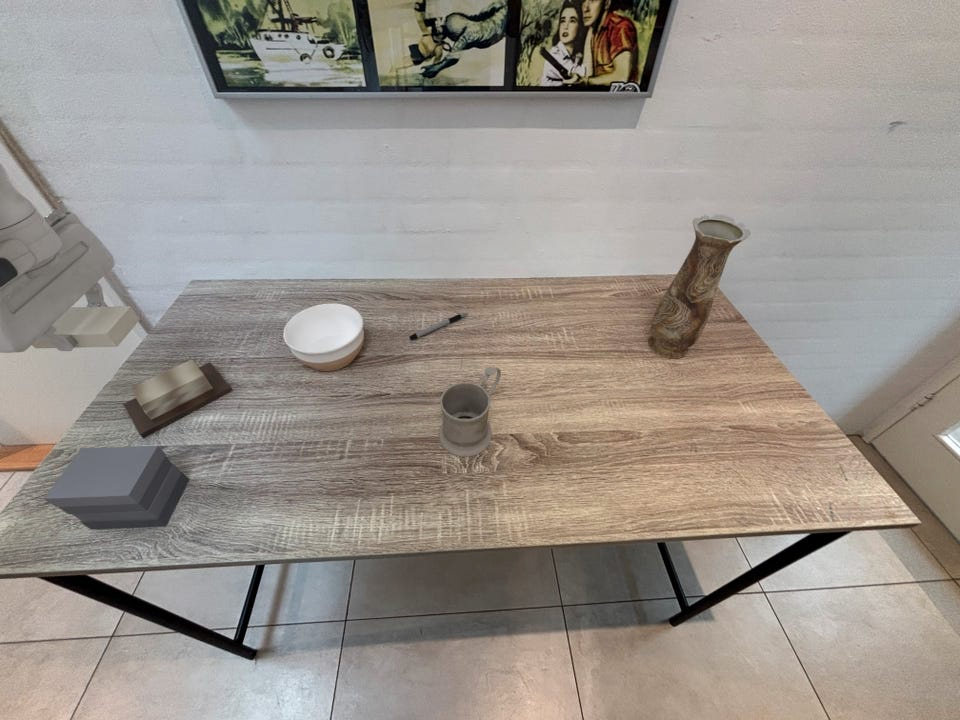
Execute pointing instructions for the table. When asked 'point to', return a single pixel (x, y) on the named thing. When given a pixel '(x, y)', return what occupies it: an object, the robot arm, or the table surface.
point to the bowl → (325, 336)
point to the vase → (694, 286)
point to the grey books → (119, 487)
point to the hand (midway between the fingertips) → (86, 329)
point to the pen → (437, 326)
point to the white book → (94, 326)
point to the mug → (472, 402)
